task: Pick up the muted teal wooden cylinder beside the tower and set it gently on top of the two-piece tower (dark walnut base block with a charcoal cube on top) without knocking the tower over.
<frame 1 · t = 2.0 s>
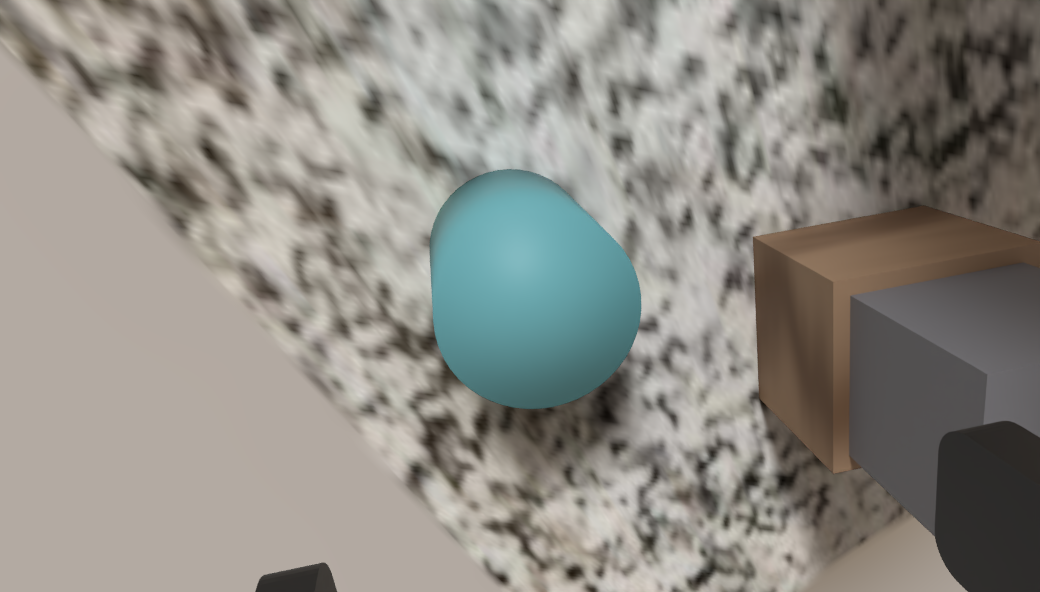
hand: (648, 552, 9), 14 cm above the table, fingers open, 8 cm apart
charcoal top block: (933, 361, 21), point 5 cm above the table, touching walnut base block
teal cylinder: (509, 248, 23), on the table
walnut base block: (837, 304, 25), on the table, touching charcoal top block
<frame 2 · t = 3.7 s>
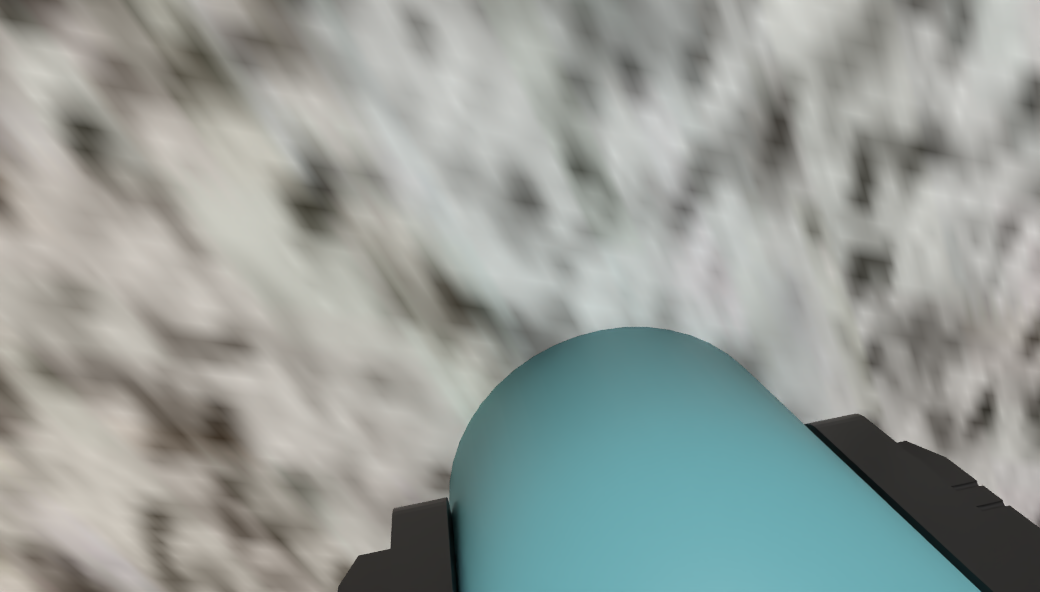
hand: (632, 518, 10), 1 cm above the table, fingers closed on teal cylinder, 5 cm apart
teal cylinder: (619, 486, 11), on the table, touching gripper
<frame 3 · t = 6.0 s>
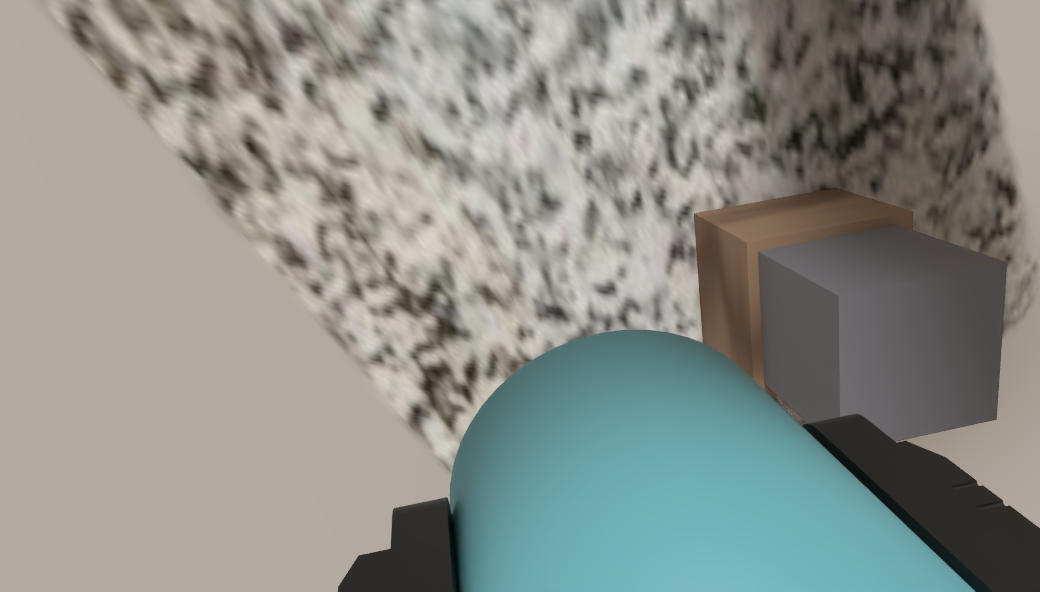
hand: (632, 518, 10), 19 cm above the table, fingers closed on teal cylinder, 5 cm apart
charcoal top block: (828, 305, 26), point 5 cm above the table
teal cylinder: (619, 488, 11), point 18 cm above the table, touching gripper
walnut base block: (766, 270, 30), on the table
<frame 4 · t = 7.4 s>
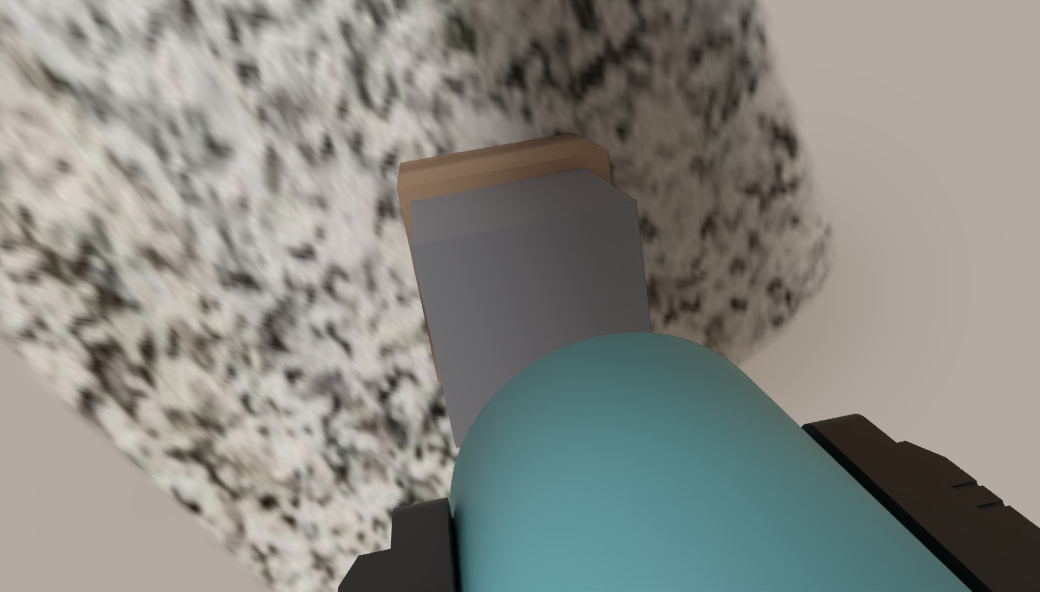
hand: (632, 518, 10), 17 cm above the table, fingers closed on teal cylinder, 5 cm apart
charcoal top block: (513, 268, 21), point 5 cm above the table, touching walnut base block
teal cylinder: (620, 490, 11), point 16 cm above the table, touching gripper
walnut base block: (500, 231, 26), on the table, touching charcoal top block
when the fingers open (12 cm above the table, at t = 8.6 s): teal cylinder drops 2 cm, resting on charcoal top block.
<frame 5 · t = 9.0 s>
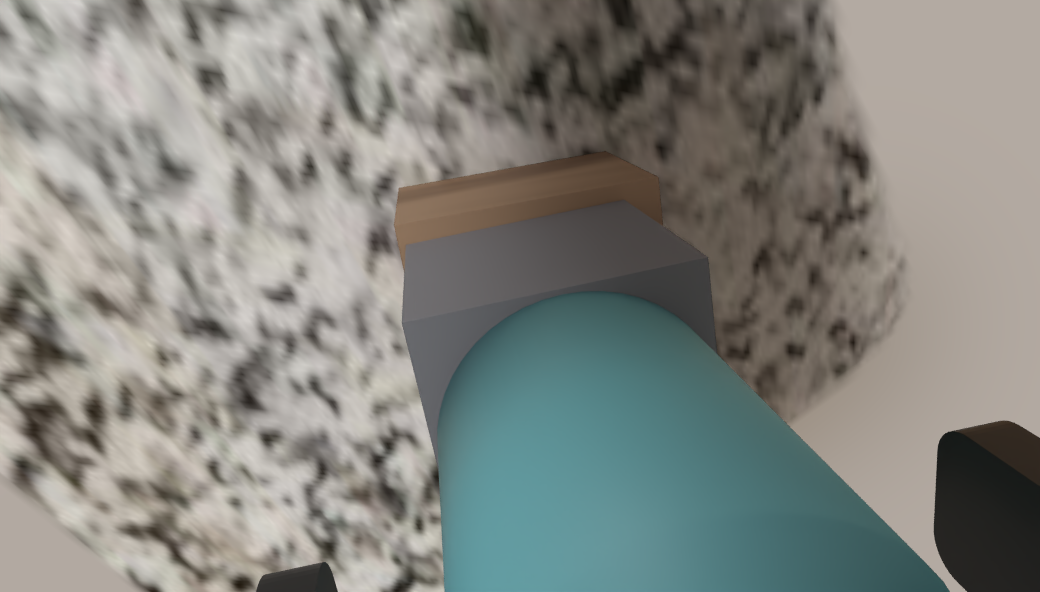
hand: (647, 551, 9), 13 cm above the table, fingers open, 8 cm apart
charcoal top block: (535, 324, 17), point 5 cm above the table, touching teal cylinder, walnut base block
teal cylinder: (584, 430, 12), point 10 cm above the table, touching charcoal top block
walnut base block: (518, 267, 22), on the table, touching charcoal top block
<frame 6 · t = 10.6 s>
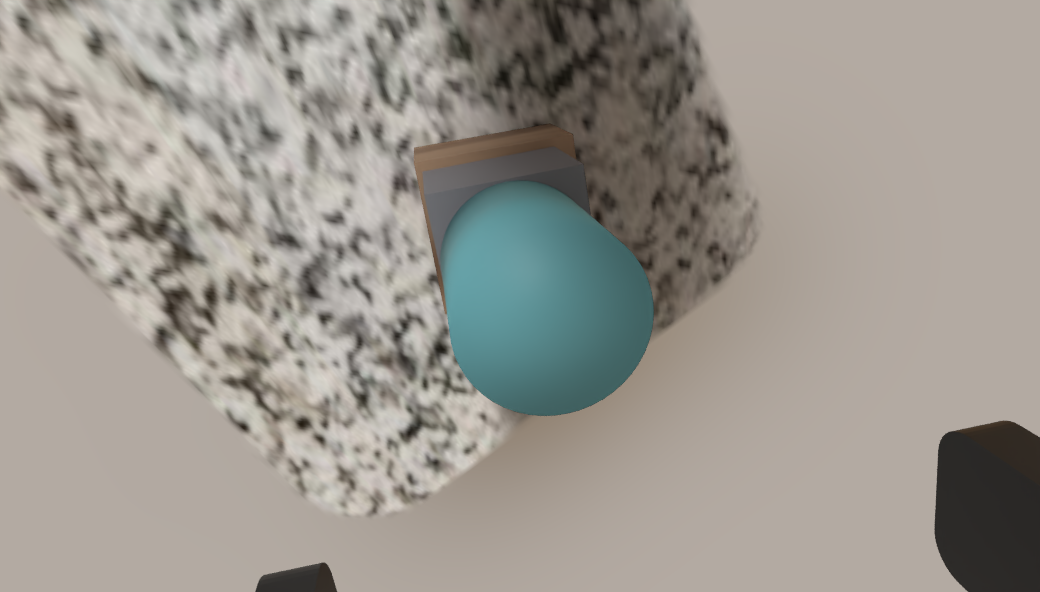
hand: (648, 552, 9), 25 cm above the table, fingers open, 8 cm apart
charcoal top block: (500, 223, 28), point 5 cm above the table, touching teal cylinder, walnut base block
teal cylinder: (519, 258, 23), point 10 cm above the table, touching charcoal top block
walnut base block: (494, 202, 33), on the table, touching charcoal top block
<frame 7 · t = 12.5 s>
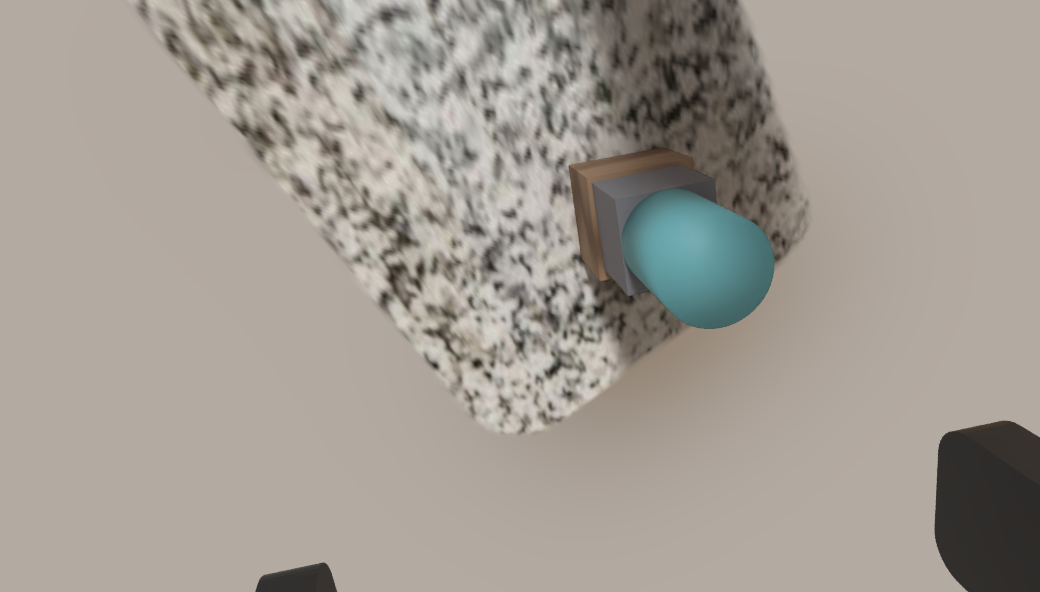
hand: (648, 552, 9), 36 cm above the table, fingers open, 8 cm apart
charcoal top block: (641, 217, 41), point 5 cm above the table, touching teal cylinder, walnut base block
teal cylinder: (670, 238, 36), point 10 cm above the table, touching charcoal top block
walnut base block: (621, 203, 46), on the table, touching charcoal top block
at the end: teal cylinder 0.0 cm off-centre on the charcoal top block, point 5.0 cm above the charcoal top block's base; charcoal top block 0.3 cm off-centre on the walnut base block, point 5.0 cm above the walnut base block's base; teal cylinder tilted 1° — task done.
